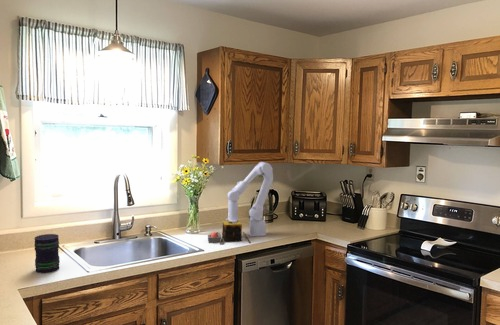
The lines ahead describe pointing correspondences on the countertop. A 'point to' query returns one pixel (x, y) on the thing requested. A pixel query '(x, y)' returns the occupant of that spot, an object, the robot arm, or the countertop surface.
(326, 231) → the countertop surface
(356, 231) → the countertop surface
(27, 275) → the countertop surface
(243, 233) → the track
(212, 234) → the dome
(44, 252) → the storage jar
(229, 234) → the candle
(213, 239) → the button box
